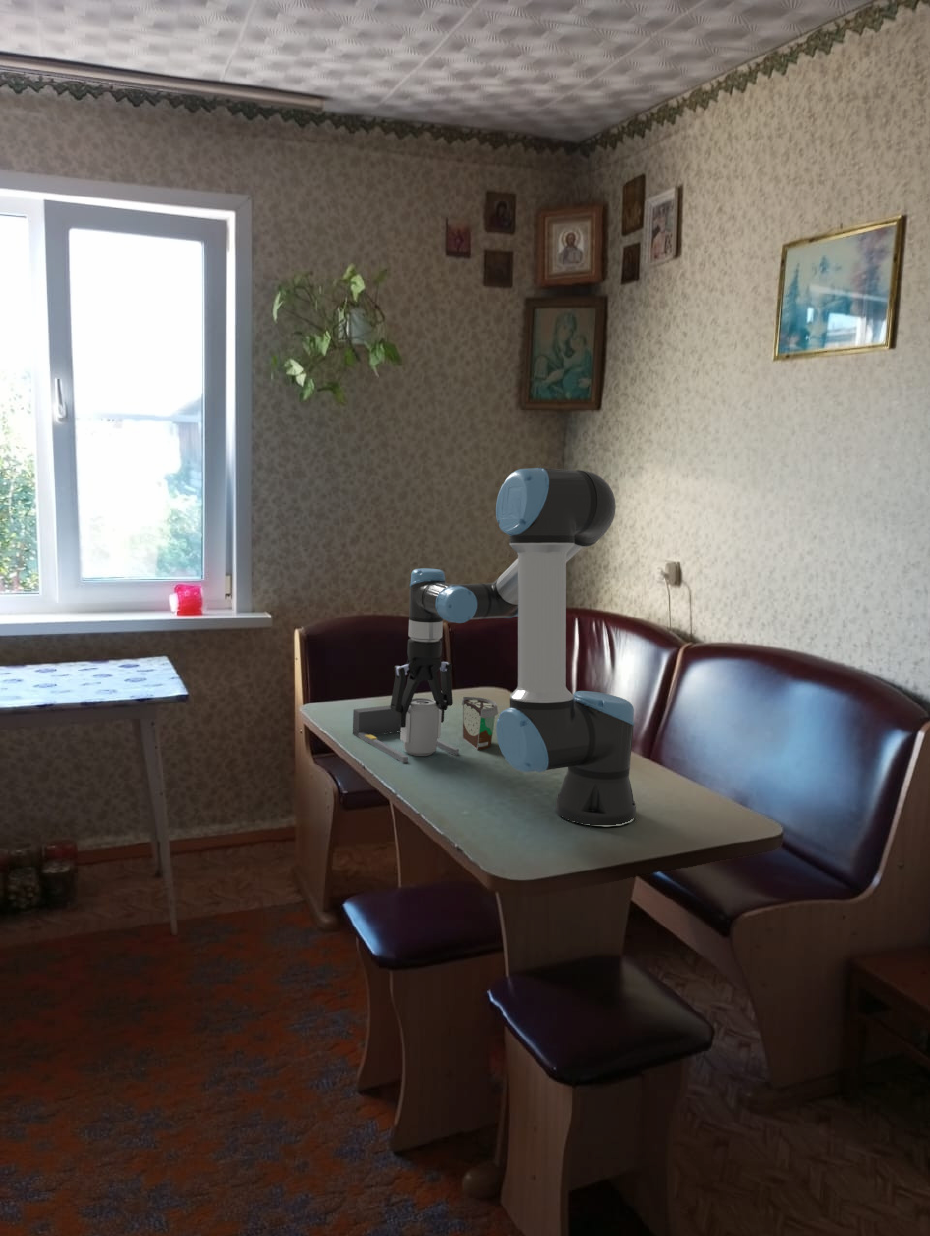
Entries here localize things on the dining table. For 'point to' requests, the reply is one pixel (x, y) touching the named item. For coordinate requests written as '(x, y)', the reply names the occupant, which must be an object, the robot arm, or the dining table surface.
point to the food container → (478, 721)
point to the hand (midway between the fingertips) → (420, 738)
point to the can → (422, 727)
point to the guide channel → (384, 729)
